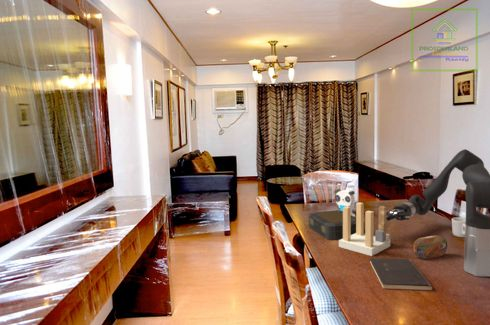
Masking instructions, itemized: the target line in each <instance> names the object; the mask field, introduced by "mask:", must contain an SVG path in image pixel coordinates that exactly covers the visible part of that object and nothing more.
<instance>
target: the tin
mask: <svg viewBox="0 0 490 325" xmlns="http://www.w3.org/2000/svg"><path fill="white" fill-rule="evenodd" d="M412 248H413V254H414V255H415V256H416V257H418V258H420V259H422V260H427V259H428V260H429V259H433V258H438V257H441V256H443V255H445V254H446V252H447V249H448V242H447V239H446V238H445V237H444V236H442V235H441V236H440V235H429V236H423V237H418V238H417V239H416V240H414V242H413V246H412Z"/></svg>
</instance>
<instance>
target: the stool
mask: <svg viewBox="0 0 490 325" xmlns="http://www.w3.org/2000/svg"><path fill="white" fill-rule="evenodd" d="M355 205H356V214H355V217H356V233H355V234H353V235H351V207H343V239H338V247H339V248H342V249H345V250H349V251H351V252H356V253H360V254H362V255H366V256H371V257H373V256H375V255H377V254H379V253H380V252H382V251H384V250H386V249H388V248H390V247H391V234H390V233H386V240H385V241H384V231H381V230H378V229H376V230H375V232H374V228H375V227H374V226H375V224H374V222H375V221H374V219H375V218H374V217H375V215H374V214H375V212H374V211H371V210H366V211H365V208H364V207H365V204H364V203H363V202H360V201H359V202H356V204H355ZM364 223H365V224H364Z"/></svg>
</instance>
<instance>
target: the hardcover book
mask: <svg viewBox="0 0 490 325" xmlns="http://www.w3.org/2000/svg"><path fill="white" fill-rule="evenodd" d="M368 259H369V262H370V264H371V267H372V269H373V271H374V272H375V274H376V276H377V279H378V281H379V283H380V285H381V287H382V289H389V290H390V289H391V290H394V289H395V290H416V291H417V290H419V291H433V290H434V287H433V285H432V284H431V282H430V281H429V280H428V278H426V277H425V275H424V274H423V272H421V269H419V268H418V267H417V265H416V264H415V263H414V261H413V260H412V259H411V258H401V257H400V258H399V257H398V258H394V257H392V258H390V257H389V258H387V257H368Z"/></svg>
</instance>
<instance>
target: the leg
mask: <svg viewBox="0 0 490 325" xmlns="http://www.w3.org/2000/svg"><path fill="white" fill-rule="evenodd" d="M387 211H388V210H387V206H384V205H380V206H378V225H377V226H378V229H377V230H381V231H384V241H385V240H386V234H387V220H386V212H387Z"/></svg>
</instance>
